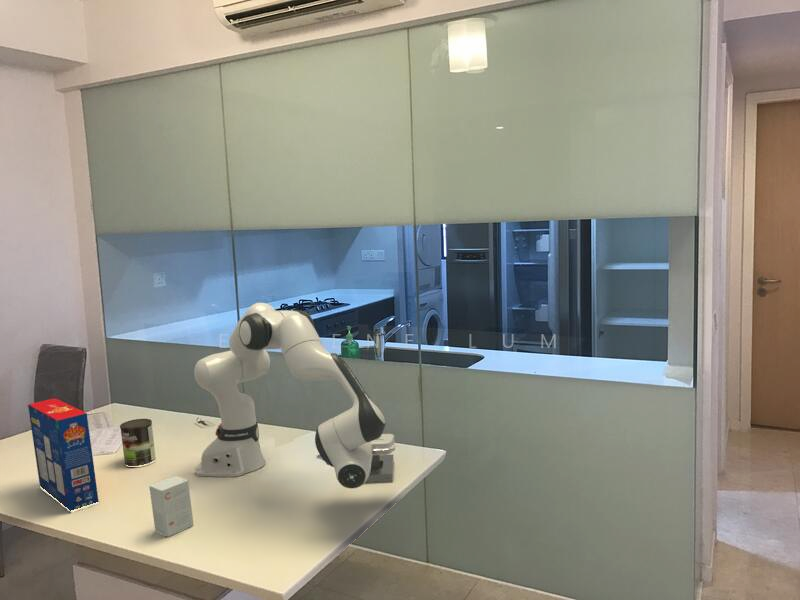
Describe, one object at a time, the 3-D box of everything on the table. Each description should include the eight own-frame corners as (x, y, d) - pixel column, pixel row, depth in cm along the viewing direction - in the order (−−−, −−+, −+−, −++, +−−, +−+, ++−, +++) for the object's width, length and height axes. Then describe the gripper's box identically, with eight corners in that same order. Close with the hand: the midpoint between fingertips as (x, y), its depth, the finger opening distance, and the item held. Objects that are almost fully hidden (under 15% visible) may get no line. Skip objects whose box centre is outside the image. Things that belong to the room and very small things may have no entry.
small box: (181, 519, 187) (175, 475, 186) (194, 525, 183) (188, 479, 181) (154, 531, 181) (148, 485, 179) (167, 538, 177) (161, 490, 175)
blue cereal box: (98, 503, 202) (86, 413, 198) (70, 513, 197) (57, 420, 193) (66, 480, 222) (55, 398, 218) (40, 489, 217) (27, 404, 213)
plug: (365, 475, 209) (363, 438, 208) (367, 470, 214) (364, 433, 212) (380, 475, 209) (377, 437, 208) (380, 469, 214) (378, 432, 212)
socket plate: (352, 484, 204) (351, 473, 203) (356, 463, 220) (356, 454, 219) (392, 481, 203) (391, 471, 203) (393, 461, 219) (393, 452, 219)
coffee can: (141, 469, 228) (136, 428, 226) (118, 466, 232) (112, 427, 230) (162, 458, 237) (158, 419, 235) (139, 455, 241) (135, 417, 239)
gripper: (394, 440, 183) (395, 422, 197) (319, 443, 184) (325, 425, 198) (395, 462, 184) (396, 443, 198) (320, 465, 185) (326, 446, 199)
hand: (360, 434), depth 198 cm, fingers open, 8 cm apart
